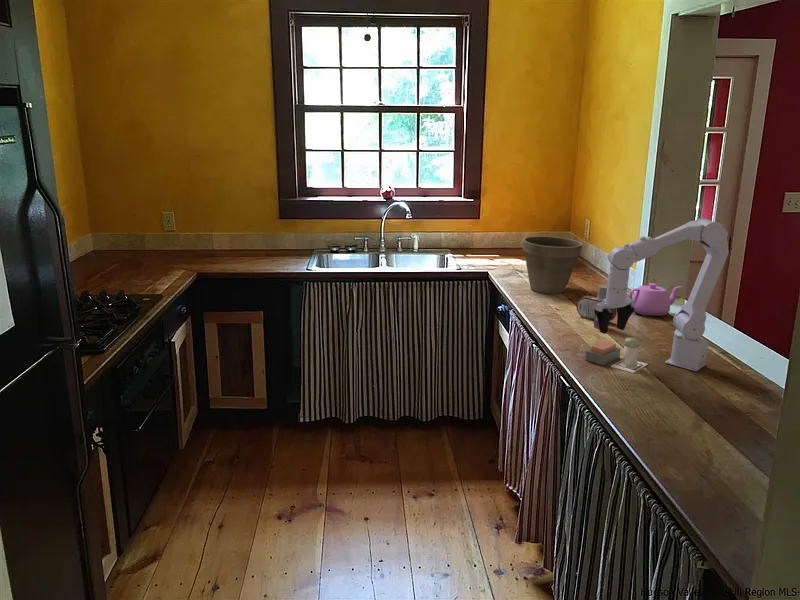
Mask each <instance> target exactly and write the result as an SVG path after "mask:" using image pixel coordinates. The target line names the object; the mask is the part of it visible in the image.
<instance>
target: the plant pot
mask: <svg viewBox="0 0 800 600" xmlns="http://www.w3.org/2000/svg"><path fill="white" fill-rule="evenodd" d="M582 249H583V243H582V242H581V241H579V240H577V239H571V238H566V237H558V236H548V235H547V236H545V235H535V236H525V237H524V238H523V239H522V252H524V257H525V262H526V270H527V277H528V281H529V287H530V289H531V290H532V291H533V292H537V293H540V294H541V293H542V294H548V295H557V293H559V294H562V292H563V293H564V292H565V291H566V289H567V286H568V284H569V282H570V279H571V276H572V274H573V271H574V269H575V266H576V263H577V261H578V259H579V257H580V256H581V254H582Z"/></svg>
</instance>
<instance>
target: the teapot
mask: <svg viewBox="0 0 800 600" xmlns="http://www.w3.org/2000/svg"><path fill="white" fill-rule="evenodd" d="M682 287H683V286H682V285H677V286H674V287H673V289H672V290H671V294H670V296H669V294H668V291H667V289H665V288H664V287H661V286H658V284H657V283H656V282H655V283H654V282H653V283H652V282H650V283H648V285H640V286H638V287H635V288H632V289H631V290H630V291H629V293H628V295H629V298H630V299H633V300H634V306H631V307H633V308H635V309H634V312H635V313H636V314H638V315H641V316H644V317H647V316H652V317H653V316H657V317H662V316H666V315H668V313H669V312H670V311H671V306H672V305H673V304H674V303H675V300H676V296H677V293H678V290H679V289H681V288H682Z"/></svg>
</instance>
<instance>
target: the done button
mask: <svg viewBox="0 0 800 600" xmlns="http://www.w3.org/2000/svg"><path fill="white" fill-rule="evenodd" d="M616 347H617V343H614V342H611V341H607V340H603V341H600V342H598V343H596V344H593V345H592V346H591V348H590V349H591V352H595V353H598V354H602V355H605V354H607V353H609V352H611V351H613V350H615V349H616Z"/></svg>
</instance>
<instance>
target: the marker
mask: <svg viewBox="0 0 800 600" xmlns="http://www.w3.org/2000/svg"><path fill="white" fill-rule="evenodd" d="M639 347H640V339H638V338H636V337H625V339H624V347H623V348H624V349H623V357H622V360H623V365H624V366H627V367H636V366H637V361H638V356H639Z"/></svg>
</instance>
